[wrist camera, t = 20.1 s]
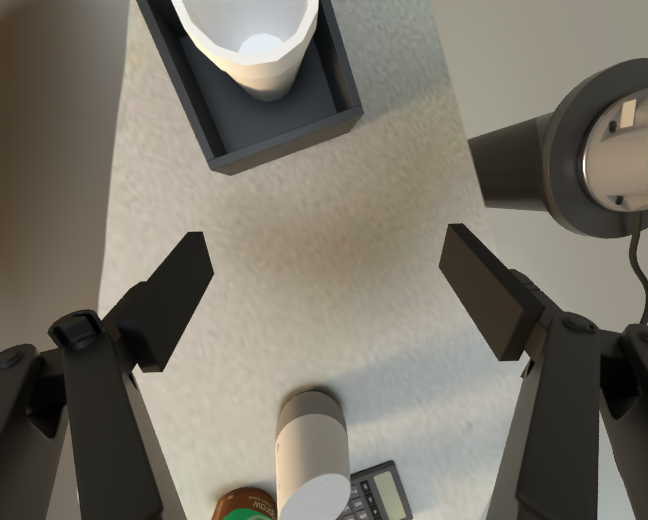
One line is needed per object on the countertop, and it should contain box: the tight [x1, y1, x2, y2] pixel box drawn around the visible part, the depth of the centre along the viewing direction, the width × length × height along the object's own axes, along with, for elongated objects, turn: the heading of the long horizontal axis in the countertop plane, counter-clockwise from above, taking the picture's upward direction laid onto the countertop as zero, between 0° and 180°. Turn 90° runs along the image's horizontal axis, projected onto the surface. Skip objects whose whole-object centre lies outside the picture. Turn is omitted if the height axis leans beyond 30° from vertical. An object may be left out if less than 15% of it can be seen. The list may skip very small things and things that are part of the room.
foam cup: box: [171, 0, 319, 102], centre depth 24 cm, size 10×9×13 cm
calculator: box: [335, 461, 413, 520], centre depth 45 cm, size 12×1×15 cm
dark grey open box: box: [136, 0, 364, 176], centre depth 28 cm, size 15×15×8 cm
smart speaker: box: [275, 391, 351, 520], centre depth 35 cm, size 10×9×14 cm
